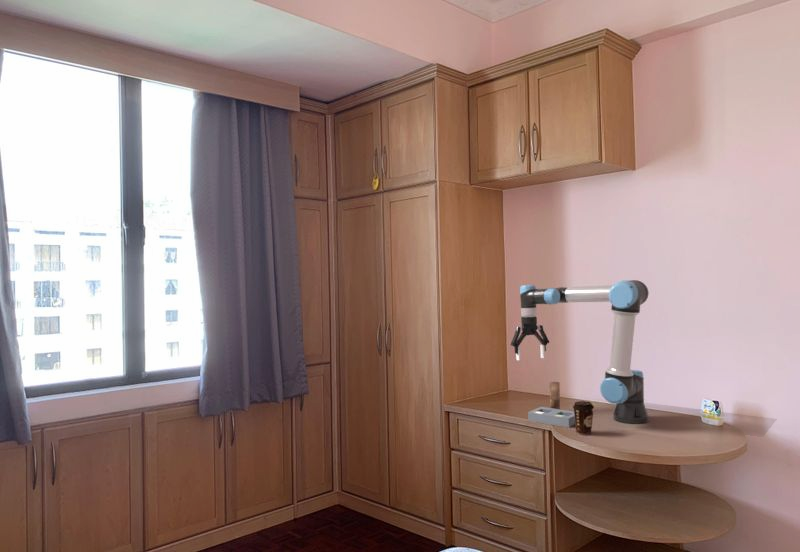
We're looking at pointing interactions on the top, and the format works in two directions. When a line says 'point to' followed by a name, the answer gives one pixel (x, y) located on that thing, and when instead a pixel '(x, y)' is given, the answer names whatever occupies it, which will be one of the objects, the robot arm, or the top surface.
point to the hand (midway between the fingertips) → (530, 359)
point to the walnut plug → (554, 395)
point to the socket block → (552, 416)
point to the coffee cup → (583, 417)
